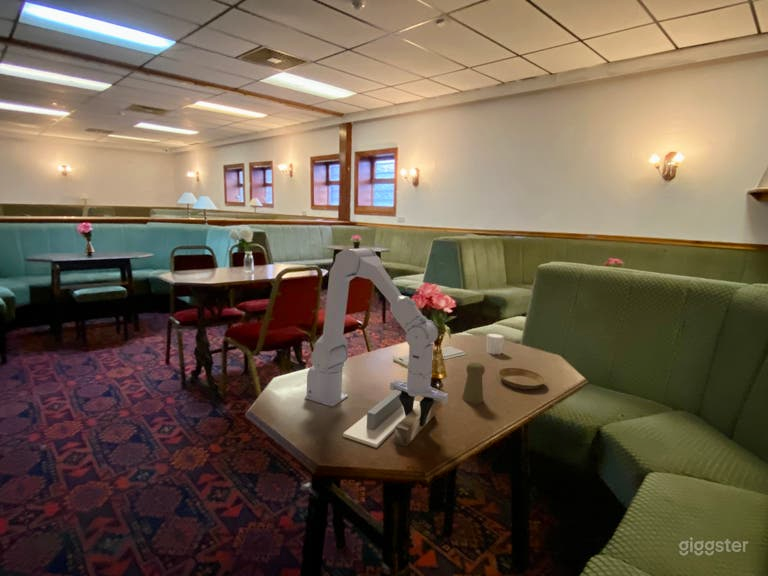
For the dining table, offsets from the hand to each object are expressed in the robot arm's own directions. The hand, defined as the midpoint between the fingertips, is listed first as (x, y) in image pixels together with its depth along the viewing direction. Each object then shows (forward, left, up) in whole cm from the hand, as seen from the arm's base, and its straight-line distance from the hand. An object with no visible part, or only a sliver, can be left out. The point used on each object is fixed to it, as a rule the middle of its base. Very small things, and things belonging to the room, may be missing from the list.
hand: (415, 422), depth 104 cm
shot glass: (+3, +74, -2) cm, 74 cm away
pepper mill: (+8, +25, -2) cm, 26 cm away
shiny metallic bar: (0, 0, -1) cm, 1 cm away
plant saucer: (+18, +47, -2) cm, 50 cm away
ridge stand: (-8, 0, -1) cm, 9 cm away
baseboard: (-15, +52, -2) cm, 54 cm away
